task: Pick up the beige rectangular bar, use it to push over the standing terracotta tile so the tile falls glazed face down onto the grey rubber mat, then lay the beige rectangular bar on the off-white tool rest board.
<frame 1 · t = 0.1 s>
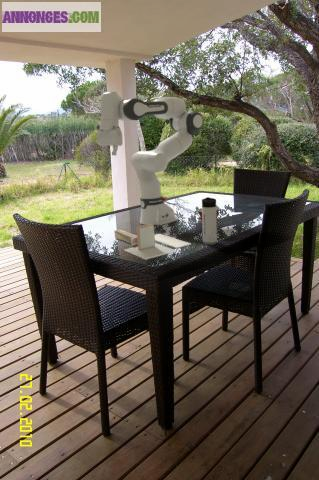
hand: (109, 155, 198), 39 cm above the table, tool pointing down, fingers open, 8 cm apart
beige rectangular bar: (128, 242, 186), on the table
tool rest board: (168, 242, 182), on the table
tile: (146, 247, 173), point 1 cm above the table, touching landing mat
plastic cup: (208, 232, 195), on the table
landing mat: (149, 251, 169), on the table
travel mug: (209, 243, 178), on the table
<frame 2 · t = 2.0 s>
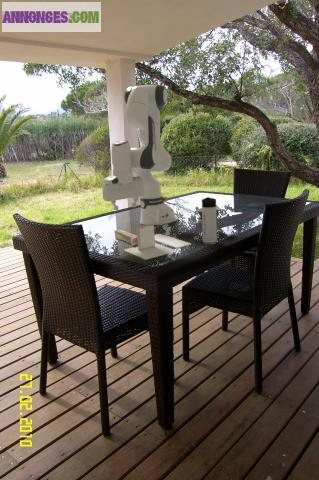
hand: (125, 208, 181), 16 cm above the table, tool pointing down, fingers open, 8 cm apart
nothing on the table moved.
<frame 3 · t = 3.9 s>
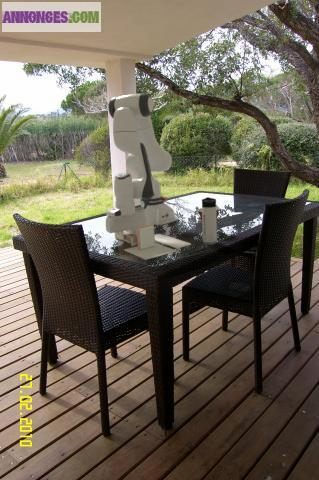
hand: (127, 238, 185), 2 cm above the table, tool pointing down, fingers closed on beige rectangular bar, 3 cm apart
beige rectangular bar: (128, 241, 186), on the table, touching gripper
everything else where it was.
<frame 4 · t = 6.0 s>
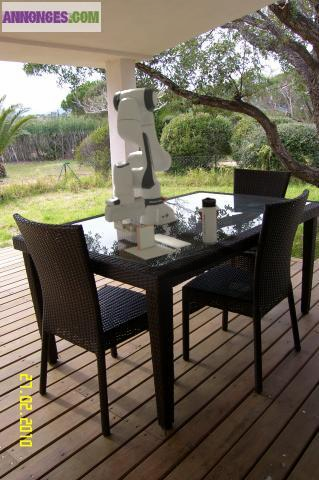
hand: (127, 228, 184), 7 cm above the table, tool pointing down, fingers closed on beige rectangular bar, 3 cm apart
beige rectangular bar: (127, 231, 184), point 5 cm above the table, touching gripper
everything else where it was.
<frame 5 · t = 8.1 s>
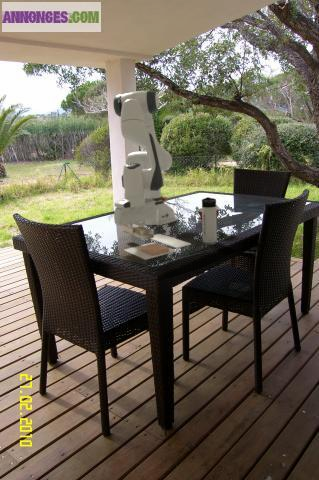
hand: (137, 231, 177), 7 cm above the table, tool pointing down, fingers closed on beige rectangular bar, 3 cm apart
beige rectangular bar: (137, 235, 177), point 5 cm above the table, touching gripper
tile: (147, 246, 172), point 1 cm above the table, tilted 90°, touching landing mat
everything else where it was.
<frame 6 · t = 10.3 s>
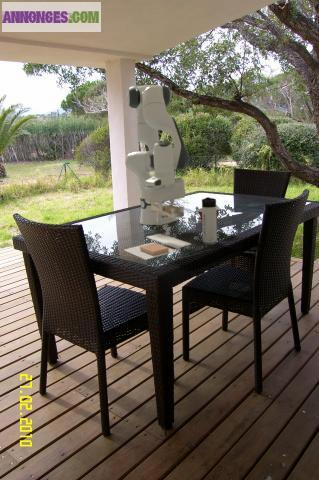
hand: (166, 210, 178), 15 cm above the table, tool pointing down, fingers closed on beige rectangular bar, 3 cm apart
beige rectangular bar: (166, 214, 178), point 13 cm above the table, touching gripper
everything else where it was.
when the fingers open (4 cm above the table, at t = 12.5 s): beige rectangular bar stays where it is, resting on tool rest board.
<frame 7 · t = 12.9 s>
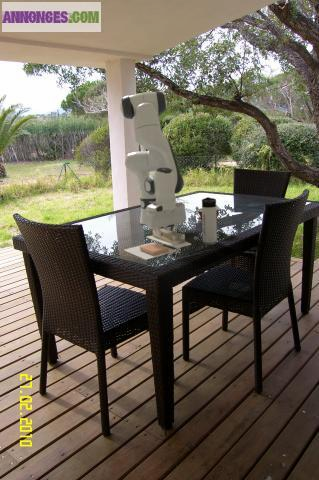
hand: (167, 234, 181), 4 cm above the table, tool pointing down, fingers open, 7 cm apart
beige rectangular bar: (167, 240, 181), point 1 cm above the table, touching tool rest board
everything else where it was.
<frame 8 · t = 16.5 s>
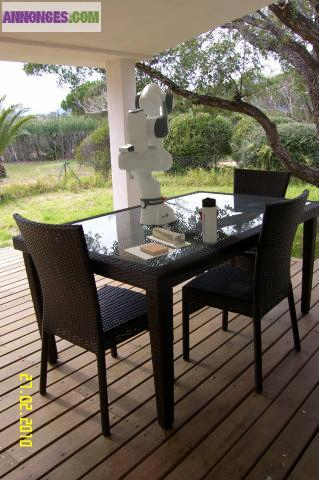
hand: (140, 178, 180), 29 cm above the table, tool pointing down, fingers open, 8 cm apart
nothing on the table moved.
at the end: tile tilted 90°; tile inside the target area (4.6 cm from its centre), point 1.5 cm above the table; beige rectangular bar inside the target area (0.0 cm from its centre), point 1.0 cm above the table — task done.
